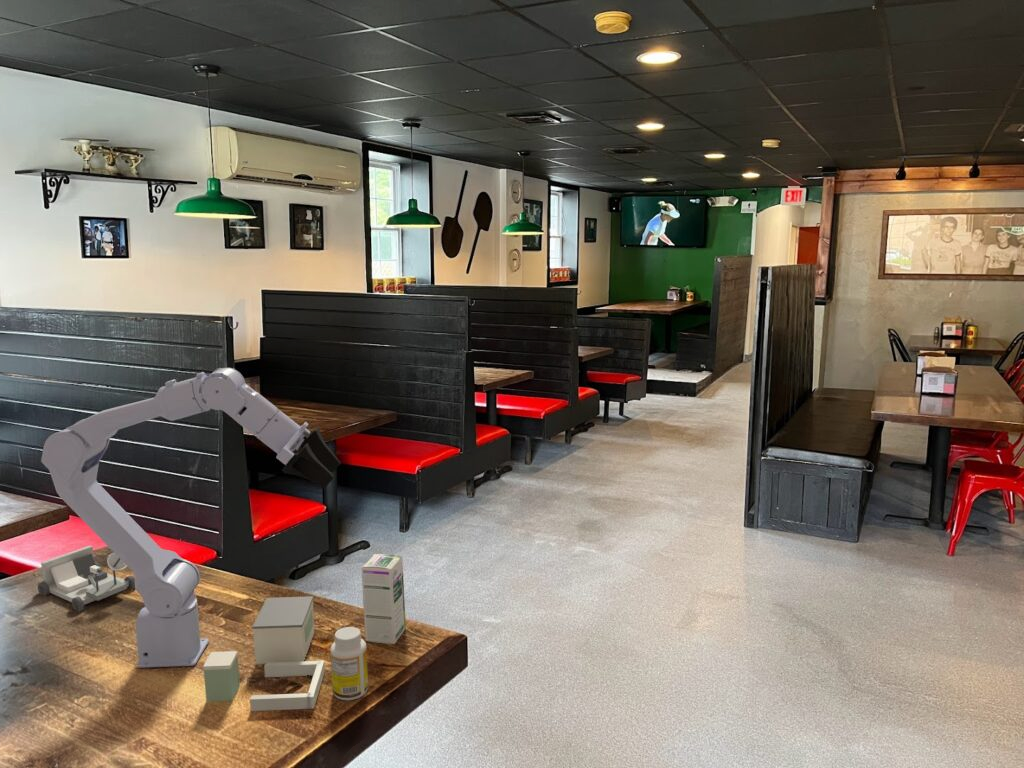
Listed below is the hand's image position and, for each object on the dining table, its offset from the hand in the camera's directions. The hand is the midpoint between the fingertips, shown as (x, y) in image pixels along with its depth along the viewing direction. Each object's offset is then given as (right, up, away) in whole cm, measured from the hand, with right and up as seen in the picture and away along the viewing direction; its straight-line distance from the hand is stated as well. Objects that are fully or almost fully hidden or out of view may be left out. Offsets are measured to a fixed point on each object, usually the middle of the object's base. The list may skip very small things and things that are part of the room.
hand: (333, 474), depth 127 cm
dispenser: (-10, -31, +7) cm, 33 cm away
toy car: (-55, -28, +27) cm, 68 cm away
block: (-16, -34, -7) cm, 38 cm away
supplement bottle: (+4, -34, -6) cm, 35 cm away
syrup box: (+7, -31, +11) cm, 33 cm away
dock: (-6, -34, -6) cm, 35 cm away
